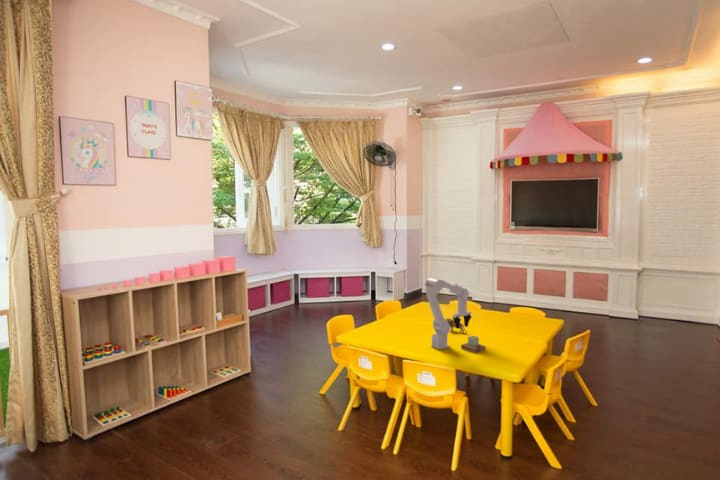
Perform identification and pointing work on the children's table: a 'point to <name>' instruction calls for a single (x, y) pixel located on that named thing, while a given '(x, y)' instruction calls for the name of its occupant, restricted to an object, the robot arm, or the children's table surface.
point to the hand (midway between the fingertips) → (461, 327)
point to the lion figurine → (452, 324)
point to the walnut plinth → (473, 348)
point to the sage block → (473, 341)
